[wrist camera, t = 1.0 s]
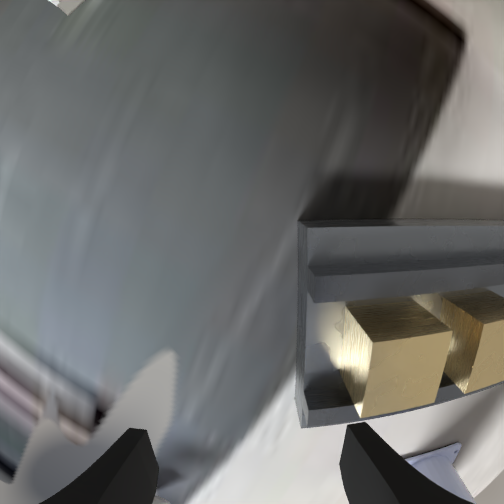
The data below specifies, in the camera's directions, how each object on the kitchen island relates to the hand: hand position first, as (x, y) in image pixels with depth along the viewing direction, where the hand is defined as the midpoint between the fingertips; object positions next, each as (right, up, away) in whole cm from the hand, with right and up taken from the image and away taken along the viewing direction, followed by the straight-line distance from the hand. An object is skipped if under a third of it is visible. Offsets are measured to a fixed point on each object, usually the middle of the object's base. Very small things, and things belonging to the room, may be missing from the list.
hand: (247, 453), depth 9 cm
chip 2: (+13, +2, +7) cm, 15 cm away
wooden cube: (+7, +2, +7) cm, 10 cm away
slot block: (+13, +3, +10) cm, 17 cm away
